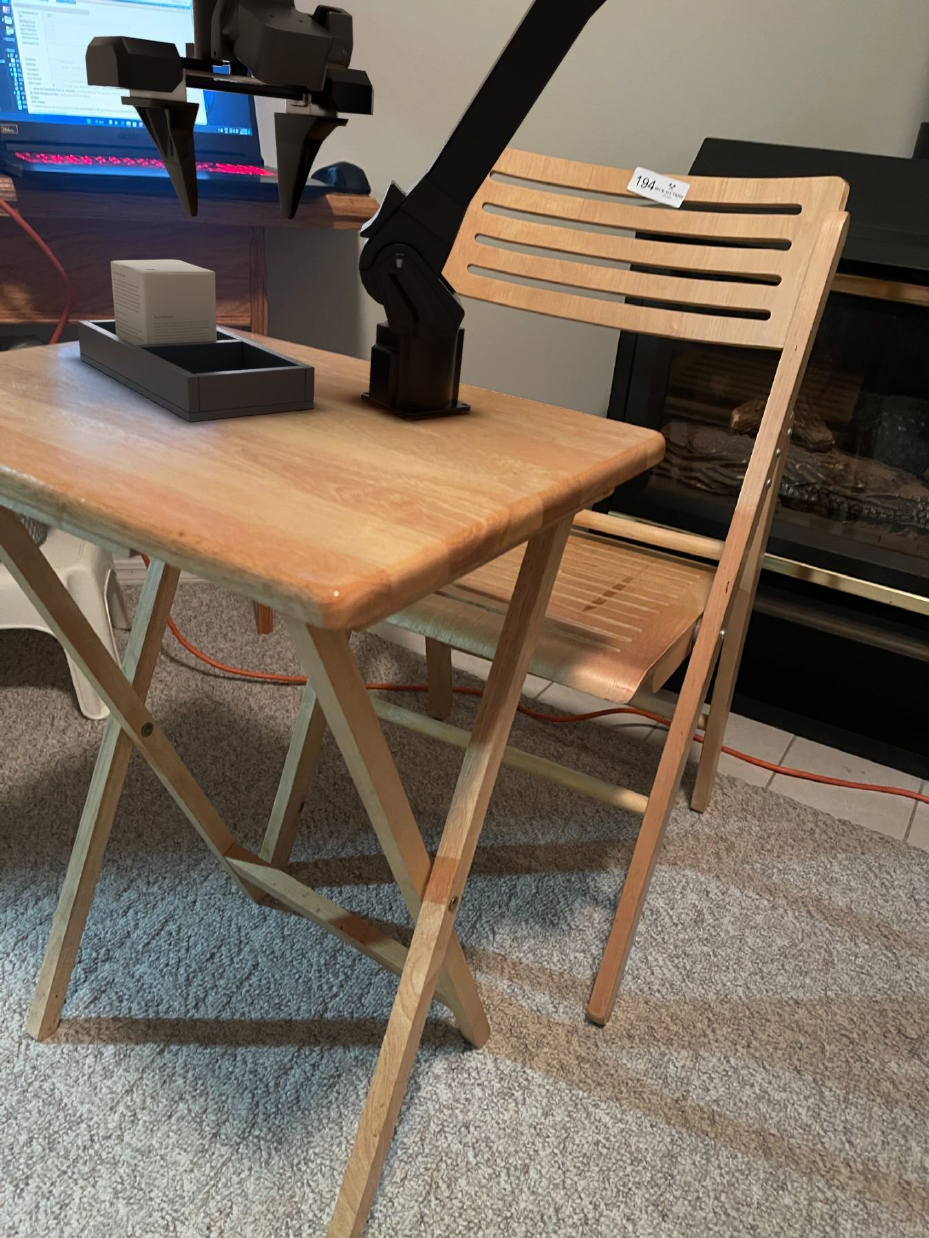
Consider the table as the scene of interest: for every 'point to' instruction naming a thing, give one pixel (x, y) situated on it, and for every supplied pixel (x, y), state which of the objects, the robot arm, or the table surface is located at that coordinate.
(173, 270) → the product box
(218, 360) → the divided tray
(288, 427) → the table surface
